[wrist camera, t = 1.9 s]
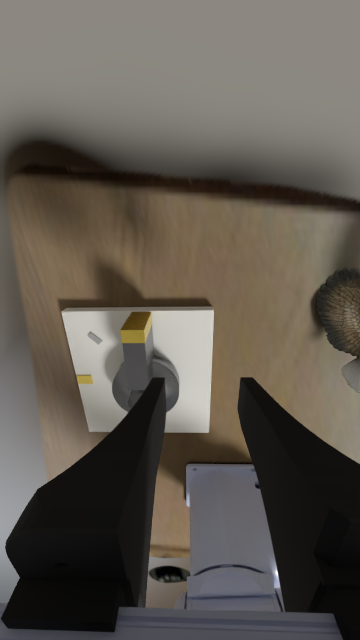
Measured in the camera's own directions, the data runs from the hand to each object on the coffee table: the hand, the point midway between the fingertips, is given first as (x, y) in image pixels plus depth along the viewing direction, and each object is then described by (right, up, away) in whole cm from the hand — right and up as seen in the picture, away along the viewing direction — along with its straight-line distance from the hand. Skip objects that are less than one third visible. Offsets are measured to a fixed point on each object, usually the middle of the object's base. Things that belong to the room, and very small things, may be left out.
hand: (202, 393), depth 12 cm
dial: (-4, 0, +9) cm, 10 cm away
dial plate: (-5, -2, +11) cm, 12 cm away
